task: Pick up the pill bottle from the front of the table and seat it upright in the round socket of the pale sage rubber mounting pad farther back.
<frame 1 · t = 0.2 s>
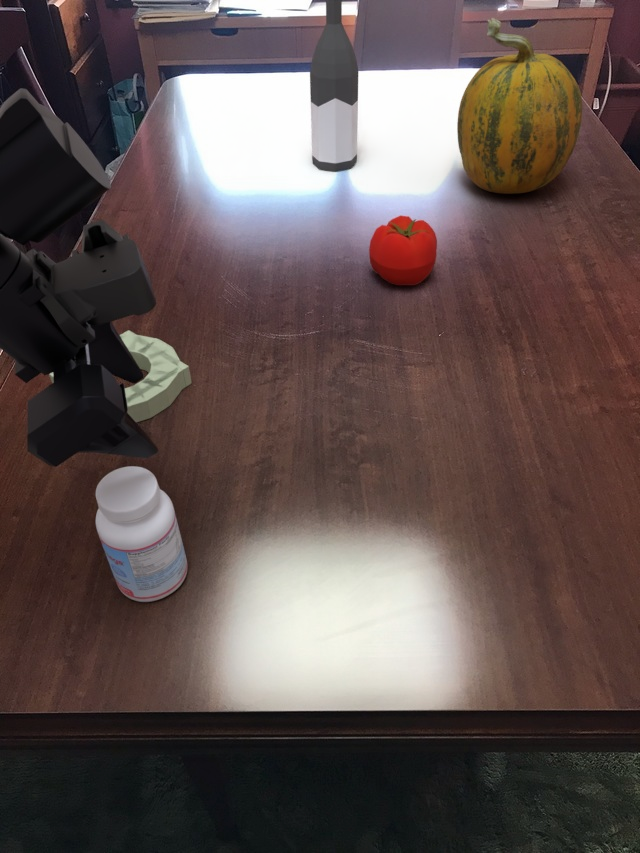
hand: (145, 414, 55), 13 cm above the table, tool tilted 30°, fingers open, 9 cm apart
tomato: (403, 277, 95), on the table
pill bottle: (153, 576, 60), on the table
socket pad: (123, 387, 78), on the table
pumpkin: (507, 186, 116), on the table
wine bottle: (334, 164, 125), on the table
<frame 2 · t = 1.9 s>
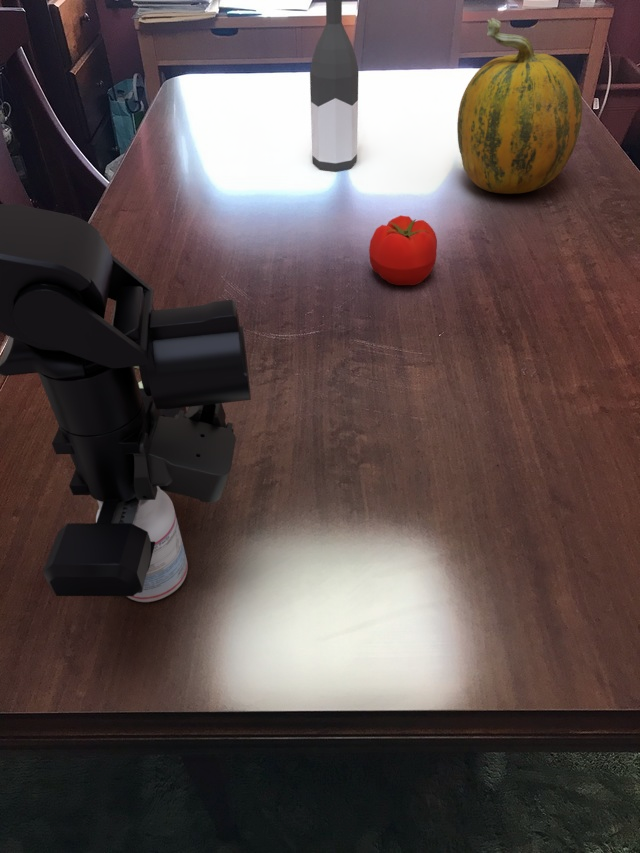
hand: (147, 549, 57), 4 cm above the table, tool pointing down, fingers closed on pill bottle, 8 cm apart
pill bottle: (153, 576, 60), on the table, touching gripper
everything else where it was.
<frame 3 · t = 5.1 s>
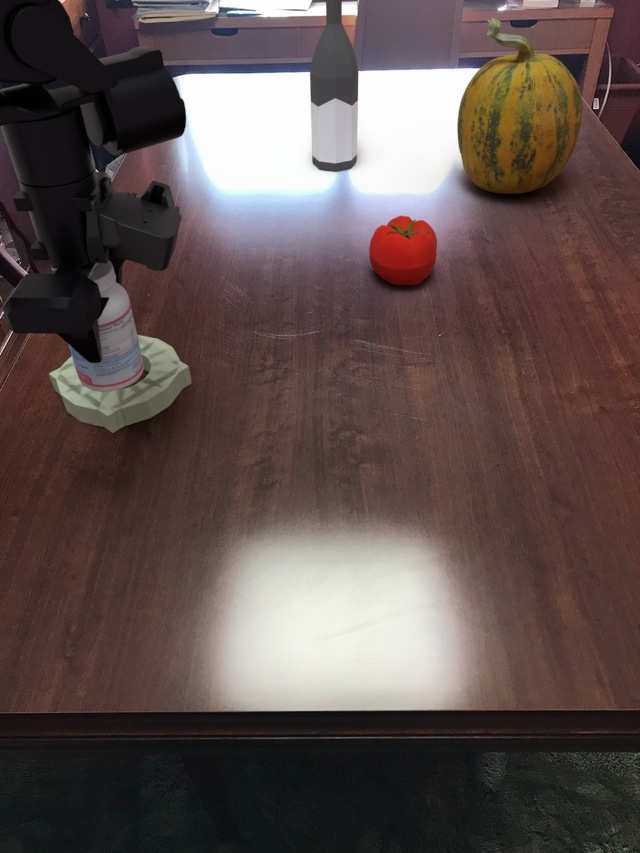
hand: (105, 340, 63), 13 cm above the table, tool pointing down, fingers closed on pill bottle, 6 cm apart
pill bottle: (112, 375, 65), point 9 cm above the table, touching gripper
everything else where it was.
when the fingers open (4 cm above the table, at t = 8.4 s): pill bottle stays where it is, resting in socket pad.
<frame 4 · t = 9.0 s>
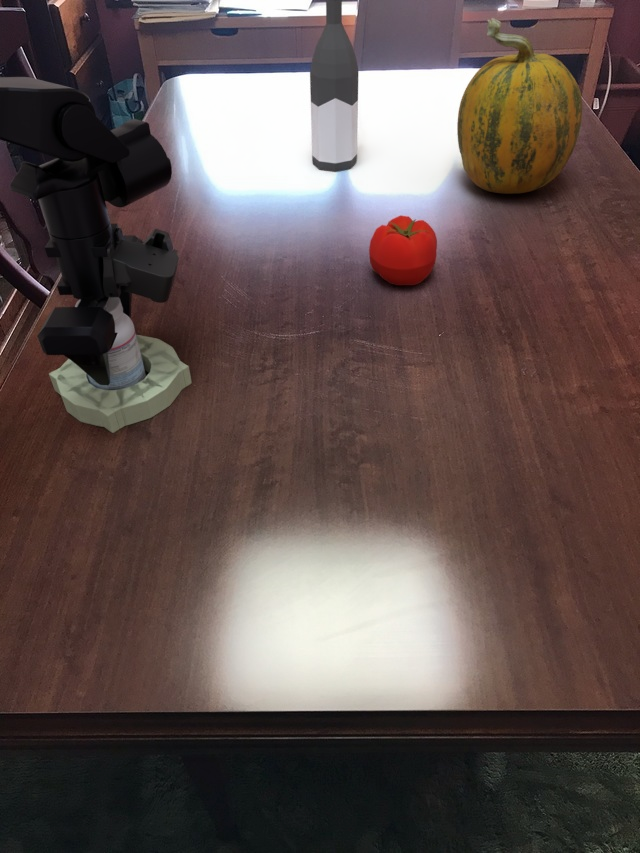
hand: (115, 357, 76), 4 cm above the table, tool pointing down, fingers open, 9 cm apart
pill bottle: (121, 389, 78), resting in socket pad
everything else where it was.
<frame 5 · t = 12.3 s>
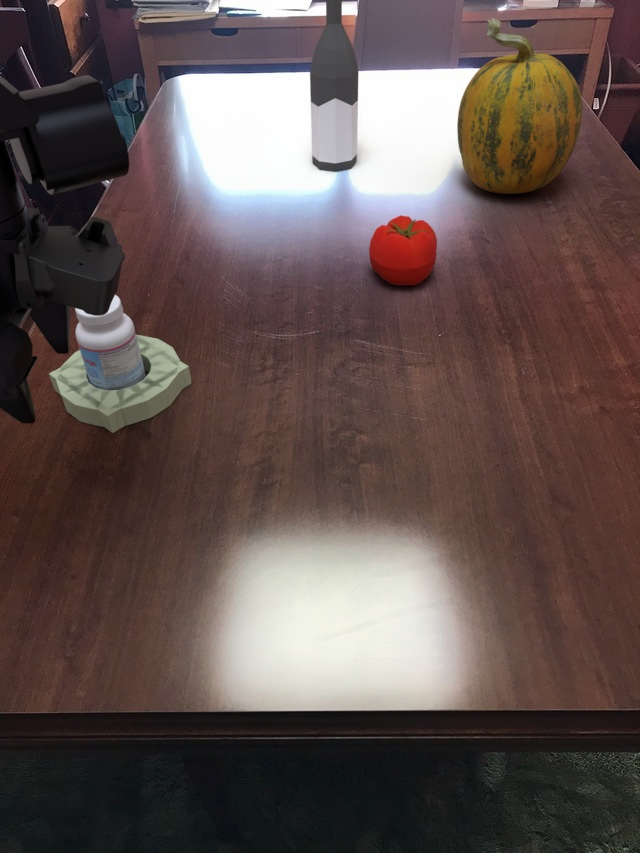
hand: (47, 385, 58), 13 cm above the table, tool pointing down, fingers open, 9 cm apart
nothing on the table moved.
at the end: pill bottle 0.3 cm off-centre in the socket pad, point 0.0 cm above the socket pad's base; pill bottle tilted 0° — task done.
